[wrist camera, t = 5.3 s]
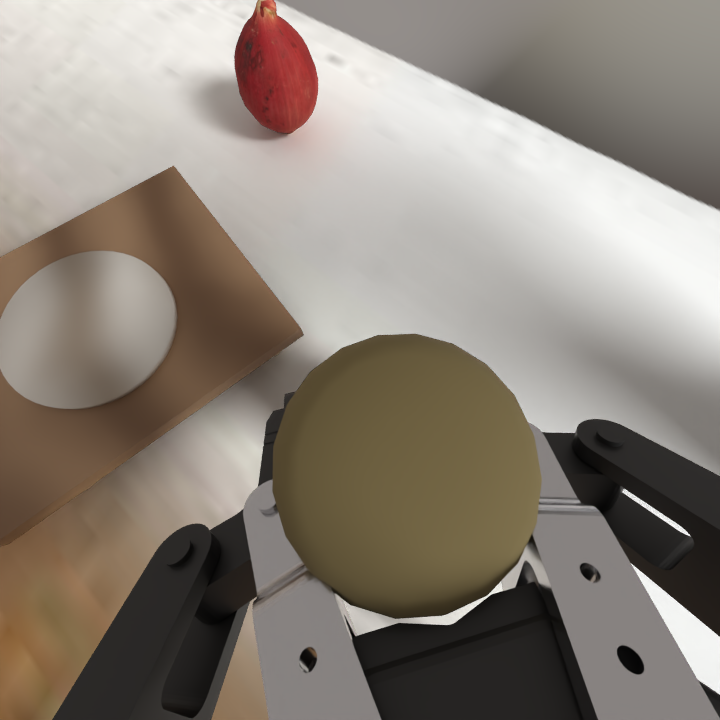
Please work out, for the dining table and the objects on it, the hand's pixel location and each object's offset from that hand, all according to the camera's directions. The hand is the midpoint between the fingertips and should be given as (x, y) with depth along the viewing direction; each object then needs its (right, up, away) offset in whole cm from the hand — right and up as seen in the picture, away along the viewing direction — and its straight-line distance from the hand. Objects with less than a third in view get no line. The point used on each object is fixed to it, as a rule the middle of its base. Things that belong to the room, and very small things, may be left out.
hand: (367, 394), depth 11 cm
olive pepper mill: (0, -3, +4) cm, 5 cm away
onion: (-7, +21, +14) cm, 26 cm away
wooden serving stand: (-15, +2, +9) cm, 18 cm away
